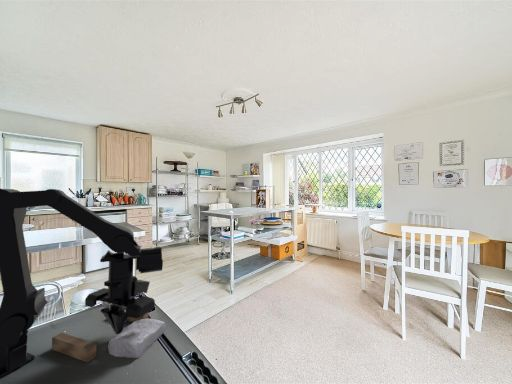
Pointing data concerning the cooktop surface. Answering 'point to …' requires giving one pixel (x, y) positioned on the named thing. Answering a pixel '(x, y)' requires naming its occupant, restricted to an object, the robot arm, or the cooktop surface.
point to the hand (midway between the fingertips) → (118, 333)
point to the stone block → (136, 338)
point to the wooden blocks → (80, 344)
